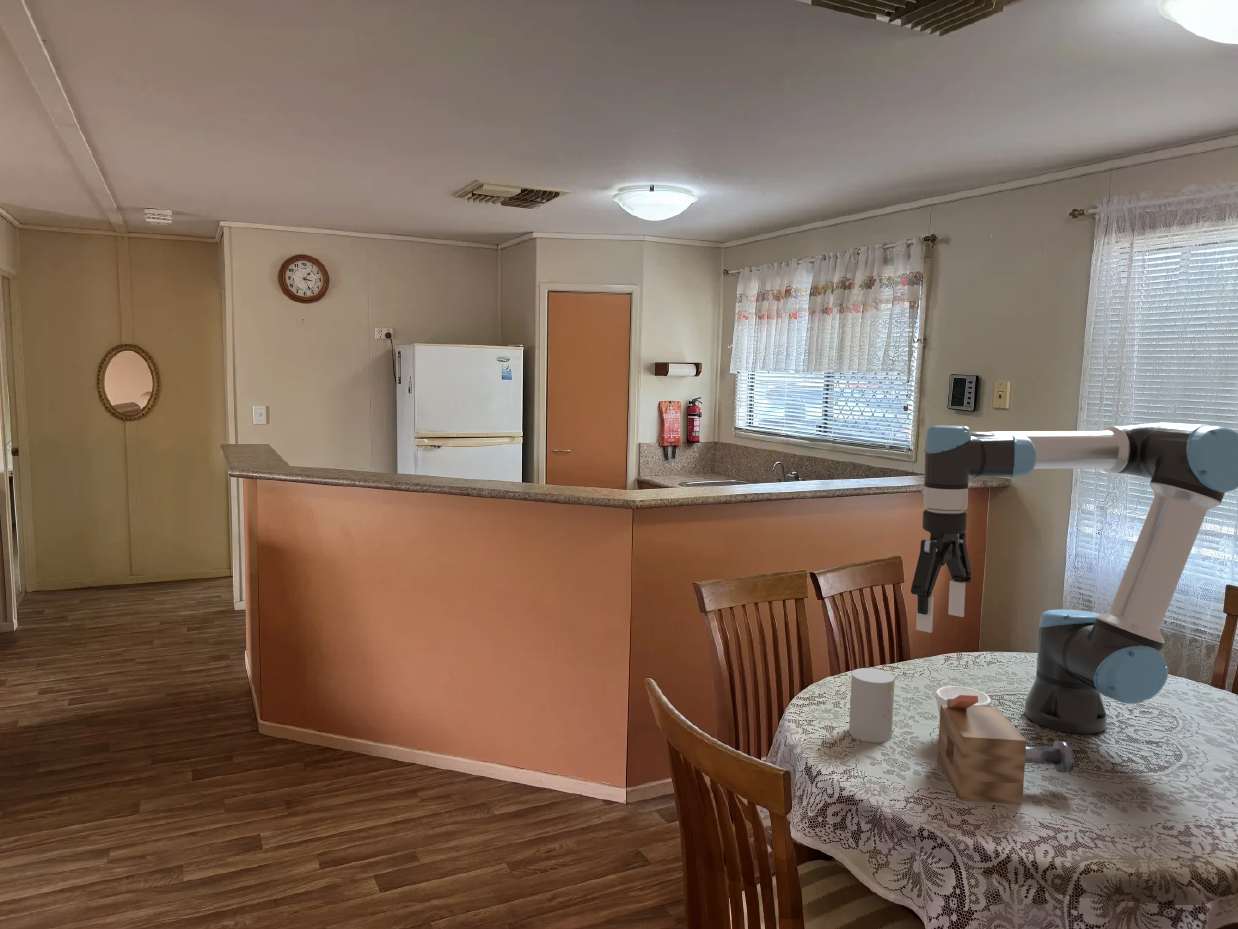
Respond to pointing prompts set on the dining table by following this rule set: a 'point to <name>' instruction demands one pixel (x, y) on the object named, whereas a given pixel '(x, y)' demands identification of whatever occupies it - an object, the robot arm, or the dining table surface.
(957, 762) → the block
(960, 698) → the keeper tab
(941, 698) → the cup
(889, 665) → the dining table surface
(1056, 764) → the hitch pin
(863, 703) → the cup
